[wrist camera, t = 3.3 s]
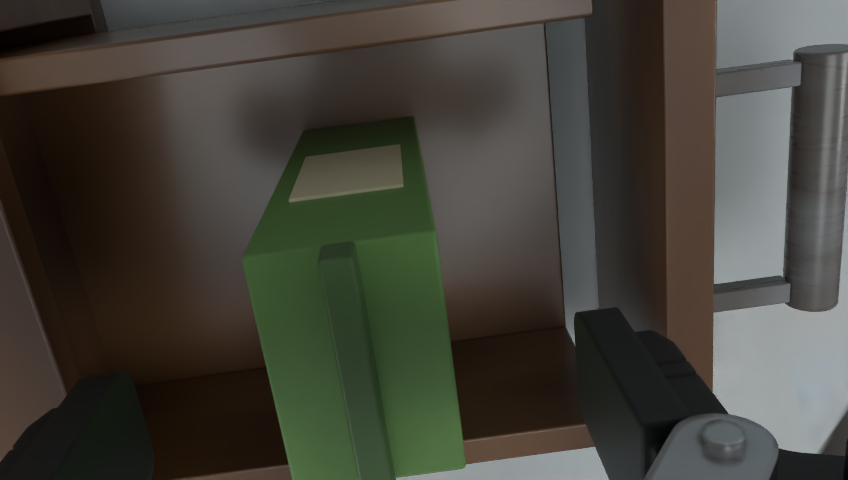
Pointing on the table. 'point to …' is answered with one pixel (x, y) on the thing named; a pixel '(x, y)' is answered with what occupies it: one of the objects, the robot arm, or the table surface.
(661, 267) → the drawer
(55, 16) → the cabinet
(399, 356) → the green carton
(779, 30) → the table surface
